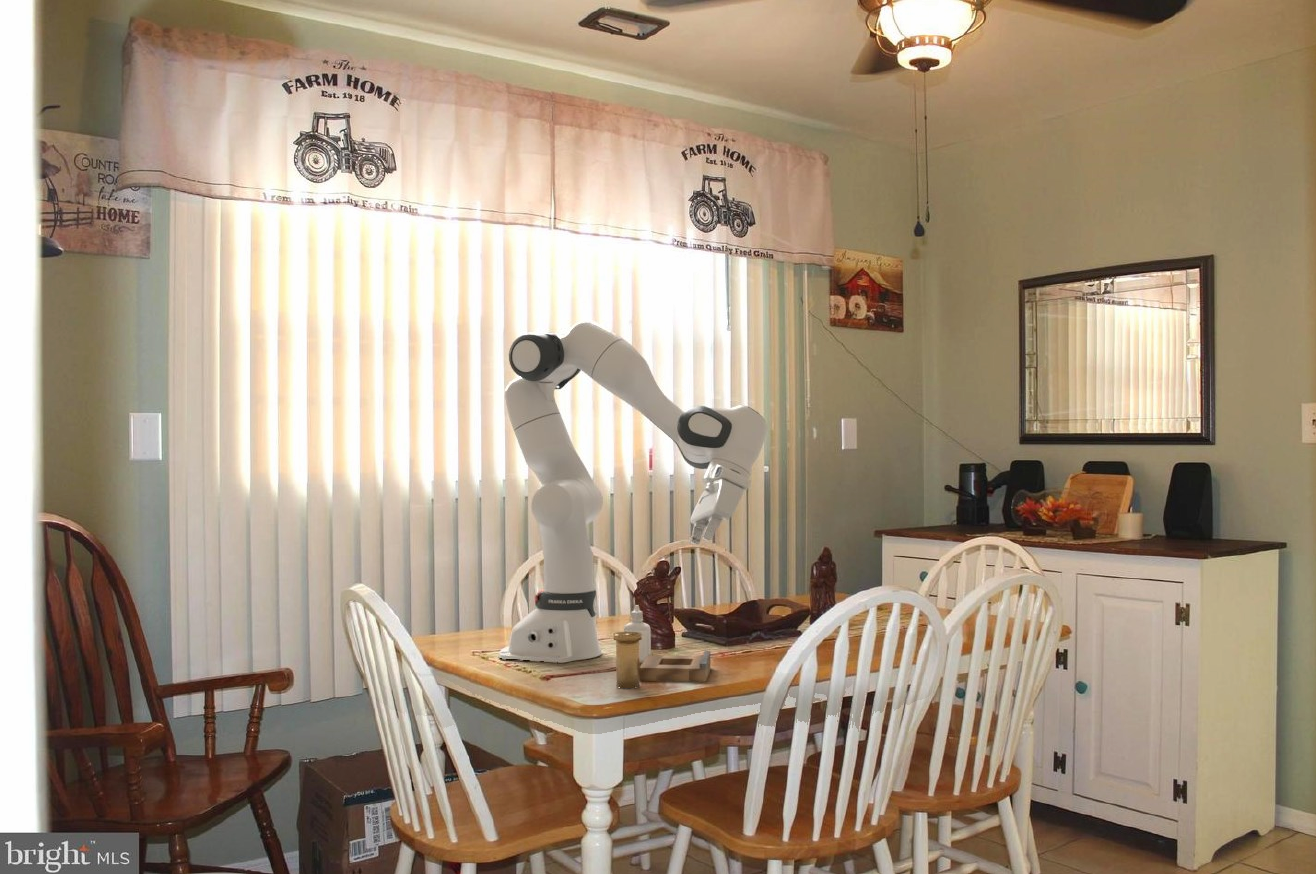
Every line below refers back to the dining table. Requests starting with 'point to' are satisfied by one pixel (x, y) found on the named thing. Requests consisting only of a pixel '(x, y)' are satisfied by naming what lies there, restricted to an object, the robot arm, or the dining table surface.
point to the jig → (675, 668)
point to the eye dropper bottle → (642, 628)
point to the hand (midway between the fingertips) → (699, 541)
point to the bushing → (627, 659)
